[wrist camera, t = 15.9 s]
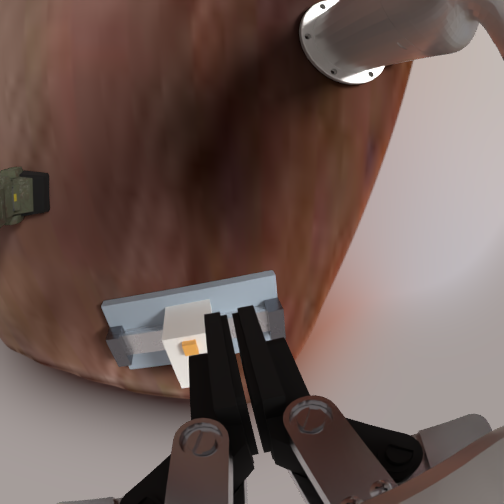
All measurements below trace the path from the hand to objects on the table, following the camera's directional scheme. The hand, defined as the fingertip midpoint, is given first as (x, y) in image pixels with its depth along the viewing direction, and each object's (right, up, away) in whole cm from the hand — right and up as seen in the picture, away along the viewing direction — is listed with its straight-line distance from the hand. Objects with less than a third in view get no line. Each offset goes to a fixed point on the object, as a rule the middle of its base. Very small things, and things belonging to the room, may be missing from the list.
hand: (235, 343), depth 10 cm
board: (-8, -7, +31) cm, 33 cm away
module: (-7, -7, +30) cm, 32 cm away
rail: (-7, -7, +30) cm, 32 cm away
